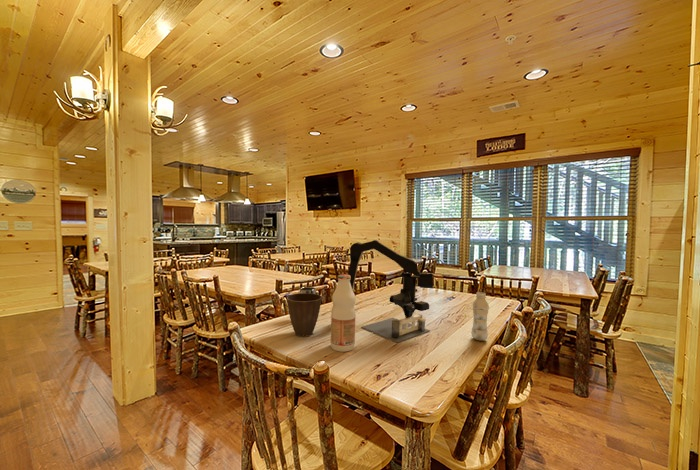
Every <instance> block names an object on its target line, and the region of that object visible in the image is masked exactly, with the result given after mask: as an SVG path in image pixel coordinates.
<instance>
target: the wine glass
mask: <svg viewBox="0 0 700 470" xmlns="http://www.w3.org/2000/svg"><path fill="white" fill-rule="evenodd" d="M299 293H311V294H316V287H314V286H303V287H300V288H299Z"/></svg>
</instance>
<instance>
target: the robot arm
mask: <svg viewBox="0 0 700 470" xmlns="http://www.w3.org/2000/svg"><path fill="white" fill-rule="evenodd" d="M349 248H350V250H349V258H350V260H349V261H350V262H349V267H348V270H347V271H348V273H347V275H350V276H351V278H350V284H351V287H352V290H353V291H354V287H355V282H356V279H357V274H358V273H357V272H358V268H359V263H360V261H361V259H362V256H363V254H364V252H367V251H371V250H375V251H377V252H378V253H381V254H382V255H384V256H385V257H387V258H388V259H390V260H392V261H393V262H395V263H396V264H397V265H398V266H399V267H400V268H401V269H403V271H402V272H401V273H399V274H398V276H399V277H400V278H402V279H403V280H402V288H400V292H399V293H397V294H392V295H390V296H389V302H390V303H394V305H395V306H398V307H400V308H401V309H402V311H403V314H404V316H405V317H404V318H408V317H412V316H414V313H415V312H416V311H419V312H423V311H427V310H430V303H429V302H426V301H424V300H420V301H418V298H417V297H416V293H417V292H418V289H417V286H419V288H421V289H433V288H434V275H433V272H421V271H420V270H419V269H418V268H417V267H418V265H417V262H416V261H415V260H414V259H412V258H410V257H408V256H405V255H401V254H399V253H397V252H396V251H394V250H393V249H392V248H390V247H388V246H387V245H384V244H383V243H381V242H380V241H379V240H377V239H374V240H372V241H367V242H358V241H357V242H354V243H352V244H351V245H350V247H349ZM399 277H398V278H399ZM416 285H417V286H416ZM356 296H357V295H356V294H355V297H356Z"/></svg>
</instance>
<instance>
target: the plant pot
mask: <svg viewBox="0 0 700 470" xmlns="http://www.w3.org/2000/svg"><path fill="white" fill-rule="evenodd" d="M286 302H287V310H288V315H289V319H290V323H291V325H292V329H293V331H294V334H295V336H298V337H304V338H305V337H310V336H312V335H313V333H314V331H315V329H316V325H317V322H318V318H319V315H320V310H321V304H322V295H320V294H318V293H317V294H316V293H315V294H311V293H300V292H299V293H294V294H290V295H288V296H287V297H286Z"/></svg>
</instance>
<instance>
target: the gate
mask: <svg viewBox="0 0 700 470" xmlns="http://www.w3.org/2000/svg"><path fill="white" fill-rule="evenodd" d="M420 318H423V314H420V313H418V314H415V315H412V317H408V318H406V317H404V318H401V319H398V320H399V336H400V335H403V334H406V333H409V332H412V331H415V330H418V326H419V320H418V319H420ZM416 321H417V322H416ZM408 323H411V324H412V327H408ZM403 324H405V329H402V325H403Z"/></svg>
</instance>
